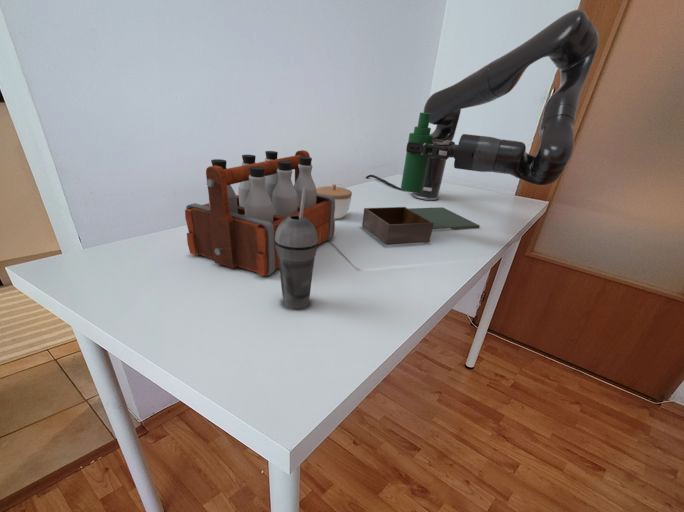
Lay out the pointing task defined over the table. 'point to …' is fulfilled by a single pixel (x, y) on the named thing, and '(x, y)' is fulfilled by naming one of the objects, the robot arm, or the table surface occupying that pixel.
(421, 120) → the bottle
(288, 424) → the table surface
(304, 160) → the milk bottle holder
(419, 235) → the open wooden box
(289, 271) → the beverage cup
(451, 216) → the mat
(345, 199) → the trinket box
